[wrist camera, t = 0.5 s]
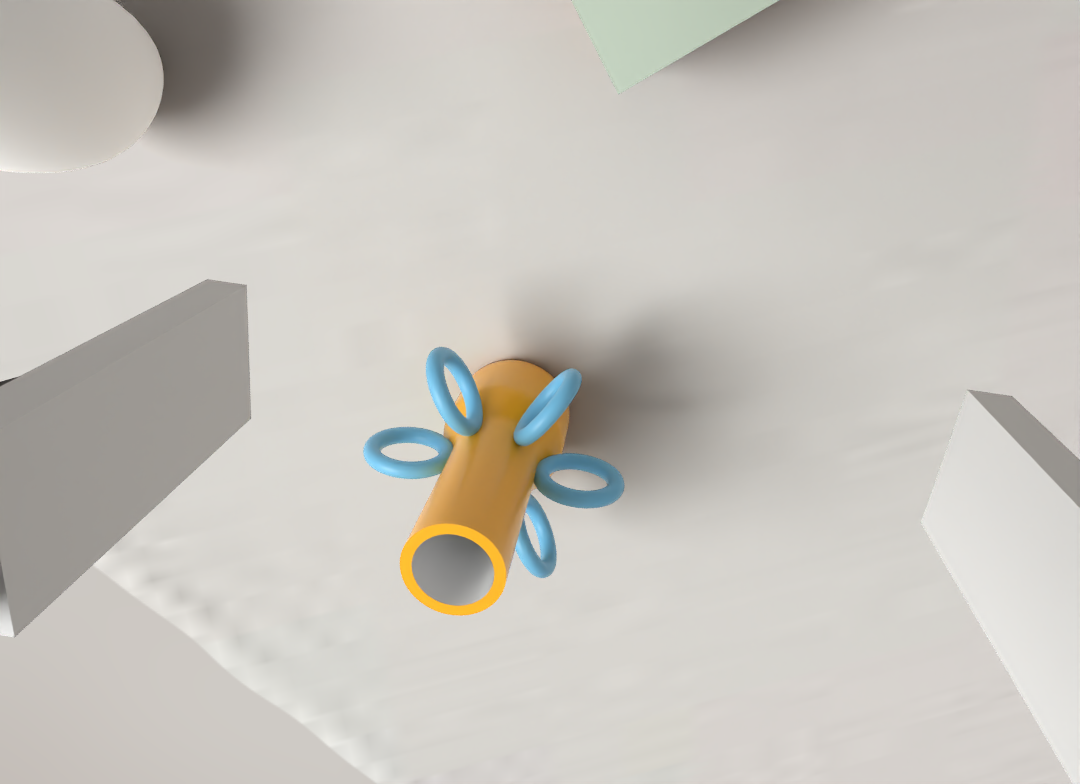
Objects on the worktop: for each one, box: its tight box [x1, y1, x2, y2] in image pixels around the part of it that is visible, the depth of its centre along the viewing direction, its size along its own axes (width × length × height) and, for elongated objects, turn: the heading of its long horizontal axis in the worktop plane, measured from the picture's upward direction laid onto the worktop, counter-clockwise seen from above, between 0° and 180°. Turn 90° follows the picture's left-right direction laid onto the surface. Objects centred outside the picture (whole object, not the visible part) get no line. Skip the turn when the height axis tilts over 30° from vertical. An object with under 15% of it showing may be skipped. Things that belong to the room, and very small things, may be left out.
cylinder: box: [363, 347, 624, 615], centre depth 37 cm, size 12×10×15 cm
